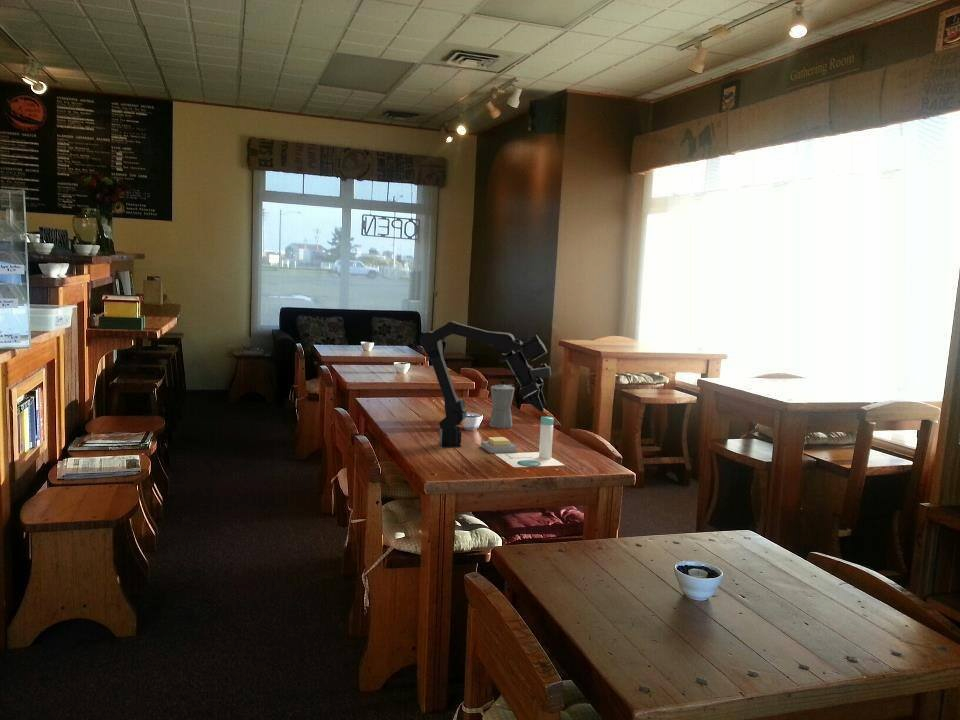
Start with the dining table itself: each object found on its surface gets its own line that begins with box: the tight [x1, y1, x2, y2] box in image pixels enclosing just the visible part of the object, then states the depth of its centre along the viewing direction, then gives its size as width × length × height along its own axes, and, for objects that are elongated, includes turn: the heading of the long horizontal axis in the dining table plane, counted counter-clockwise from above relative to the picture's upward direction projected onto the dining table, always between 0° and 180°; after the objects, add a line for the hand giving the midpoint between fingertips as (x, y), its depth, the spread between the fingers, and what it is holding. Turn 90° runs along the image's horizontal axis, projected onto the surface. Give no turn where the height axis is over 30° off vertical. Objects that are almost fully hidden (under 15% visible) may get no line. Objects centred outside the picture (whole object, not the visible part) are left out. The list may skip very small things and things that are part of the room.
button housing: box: [480, 440, 517, 454], centre depth 253 cm, size 9×9×2 cm
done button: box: [487, 436, 511, 446], centre depth 252 cm, size 5×5×2 cm
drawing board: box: [494, 451, 565, 468], centre depth 241 cm, size 18×18×1 cm
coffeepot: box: [488, 379, 516, 429], centre depth 294 cm, size 15×9×18 cm, turn 147°
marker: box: [538, 416, 555, 459], centre depth 243 cm, size 4×4×13 cm
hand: (543, 409), depth 251 cm, fingers open, 9 cm apart
